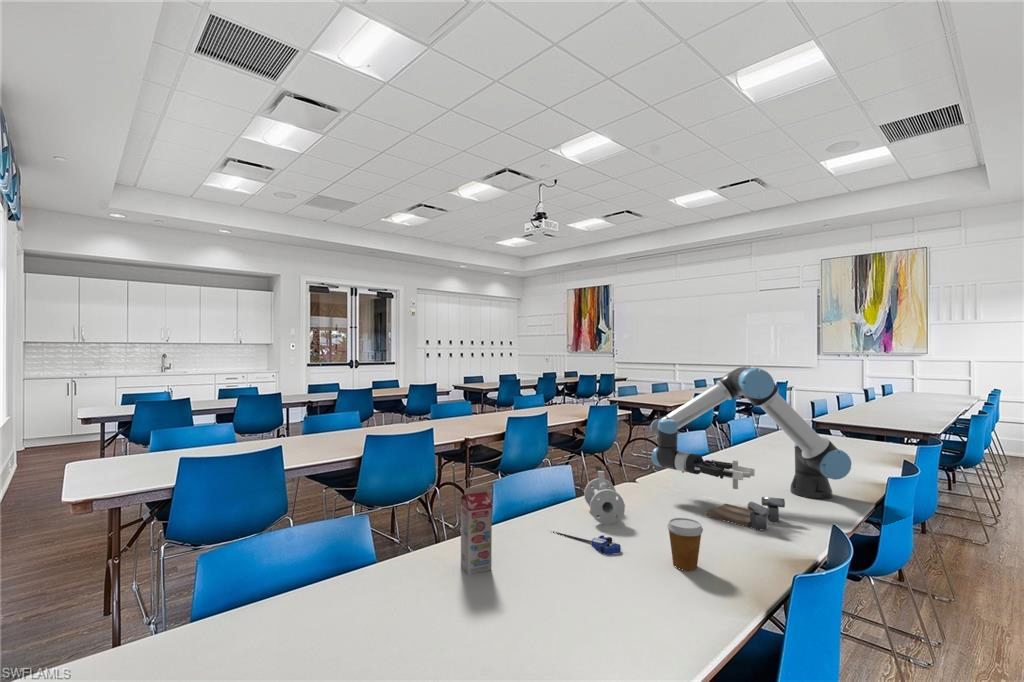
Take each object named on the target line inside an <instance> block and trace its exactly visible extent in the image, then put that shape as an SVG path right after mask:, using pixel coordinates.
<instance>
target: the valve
mask: <svg viewBox="0 0 1024 682" xmlns="http://www.w3.org/2000/svg"><path fill="white" fill-rule="evenodd" d="M594 469H595V470H596V471H595V472H596V473H598V474H597V475H598V477H597V478H594V479H592V480H590V481H589V482H588V483H587V484H586V486H585V487H584V500H585V502H586V504H587V505H588V506H589V509H590V510H589V511H590V513H591V515H592V516H593V518H594V520H595V522H598V523H600V524H601V525H605V524H607V525H608V524H609V525H610V526H611V525H614V524H616V523H617V522H619V521H620V520H621V519H622V518H623V517H624V514H625V511H626V509H625V508H626V504H625V502H624V499H623V497H622V496H621V494H620V493H618V492H617V491H616V487H615V486H614V485H613V483H612V482H611V481H609V480H608V479H605V478H606V476H605V471H604V470H603V468H602V466H599V465H598V466H594ZM616 516H617V517H616ZM609 525H608V526H609Z"/></svg>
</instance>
